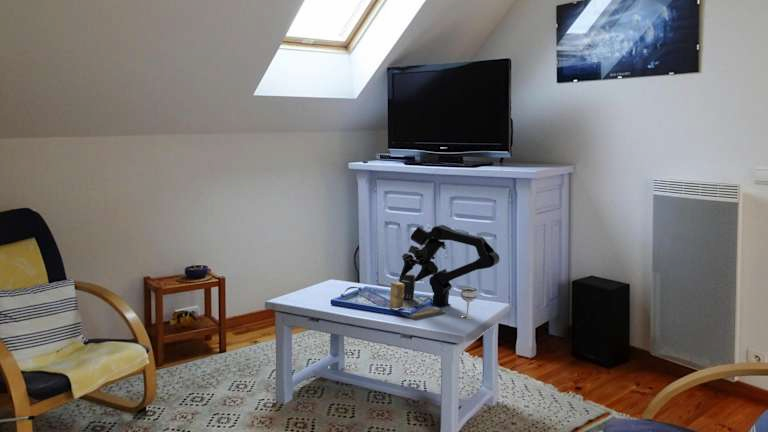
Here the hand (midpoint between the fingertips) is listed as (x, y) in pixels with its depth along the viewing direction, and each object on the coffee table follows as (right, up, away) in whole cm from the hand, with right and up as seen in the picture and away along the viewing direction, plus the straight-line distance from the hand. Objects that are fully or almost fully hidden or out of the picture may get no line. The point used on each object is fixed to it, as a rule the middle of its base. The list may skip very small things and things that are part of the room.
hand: (408, 278), depth 285 cm
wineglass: (+24, -16, -7) cm, 30 cm away
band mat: (+5, -14, -6) cm, 16 cm away
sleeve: (-5, -13, -2) cm, 14 cm away
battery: (-1, -11, +13) cm, 17 cm away
